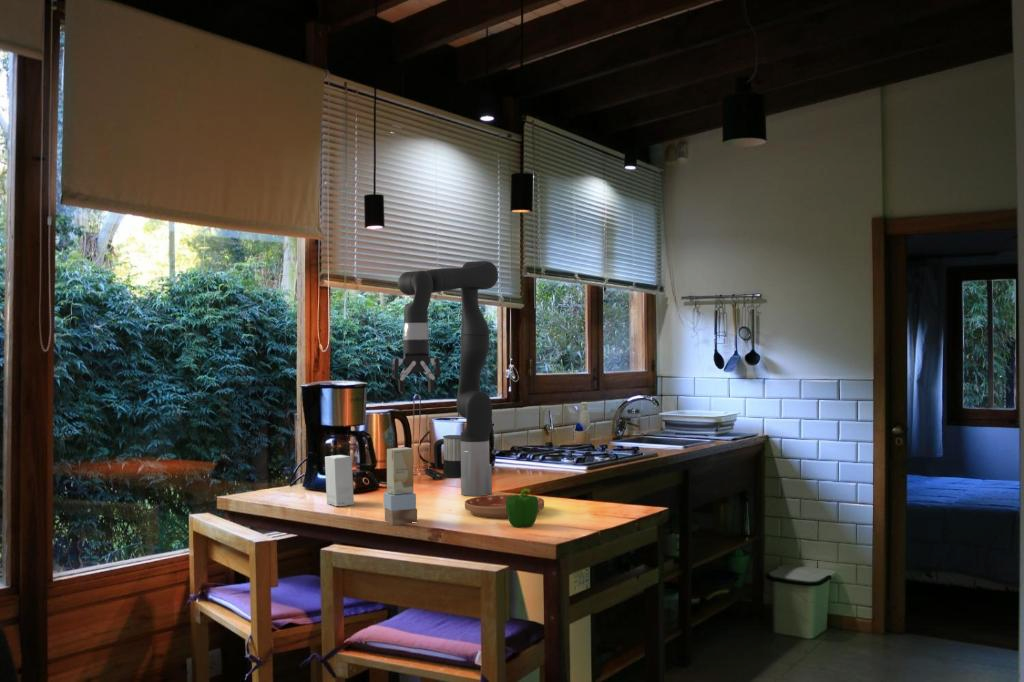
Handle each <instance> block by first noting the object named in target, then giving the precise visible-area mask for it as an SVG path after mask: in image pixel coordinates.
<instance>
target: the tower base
mask: <svg viewBox="0 0 1024 682" xmlns="http://www.w3.org/2000/svg"><path fill="white" fill-rule="evenodd" d="M384 521H385V522H386V523H387V524H389V525H391V526H398V525H399V526H401V525H407V524H406V523H411V524H413V523H412V522H417V523H418V508H416V509H408V510H396V511H390V510H389V509H387V508H385V507H384Z"/></svg>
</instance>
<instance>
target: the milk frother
mask: <svg viewBox="0 0 1024 682" xmlns="http://www.w3.org/2000/svg"><path fill="white" fill-rule="evenodd" d="M442 447H443V457H442ZM433 459H434V461H433V462H434V463H433V464H434V467H435V469H440V468H443V469H442V471H443V472H439V471H437V470H435V469H433V468H425V469H424V470H423V472H424V474H425V475H426V476H428V477H430V478H432V480H437V479H438V480H441V479H444V477H445V478H451V479H452V478H453V479H455V478H457V479H458V478H459V479H461V434H448V435H447V434H446V435H443V436H442V438H440V439H438V440H436V441H435V442H434V444H433ZM442 466H443V467H442Z"/></svg>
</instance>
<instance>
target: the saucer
mask: <svg viewBox="0 0 1024 682" xmlns="http://www.w3.org/2000/svg"><path fill="white" fill-rule="evenodd" d="M513 495H514V494H495V495H492V494H490V495H482V496H474V497H472V498H468V499H466V500H465V501H464V509H465V510H466V511H468V512H470V513H471V514H472V515H474V516H477V517H481V518H491V519H508V515H507V510H506V500H507V497H511V496H513ZM518 495H519V496H520V494H518ZM536 497H537V499H538V511H537V513H538V512H539V511H540V510H542V509H544V507H545V500H544V498H541V497H538V496H536Z"/></svg>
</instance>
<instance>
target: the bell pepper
mask: <svg viewBox="0 0 1024 682" xmlns="http://www.w3.org/2000/svg"><path fill="white" fill-rule="evenodd" d="M531 491H532V489H529V488H524V489H522V490H521V491H520V494H512V495H513V496H511V497H507V500H506V510H507V515H508V518H507V519H508V523H509V524H510V526H512V527H517V528H522V527H524V526H527V527H533V526H534V524H535V523H536V520H537V519H536V518H537V515H538V512H539V511H538V499H537V497H538V496H534V495H530V493H531ZM527 493H528V494H527ZM519 495H520V496H519ZM537 511H538V512H537ZM521 526H522V527H521Z"/></svg>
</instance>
